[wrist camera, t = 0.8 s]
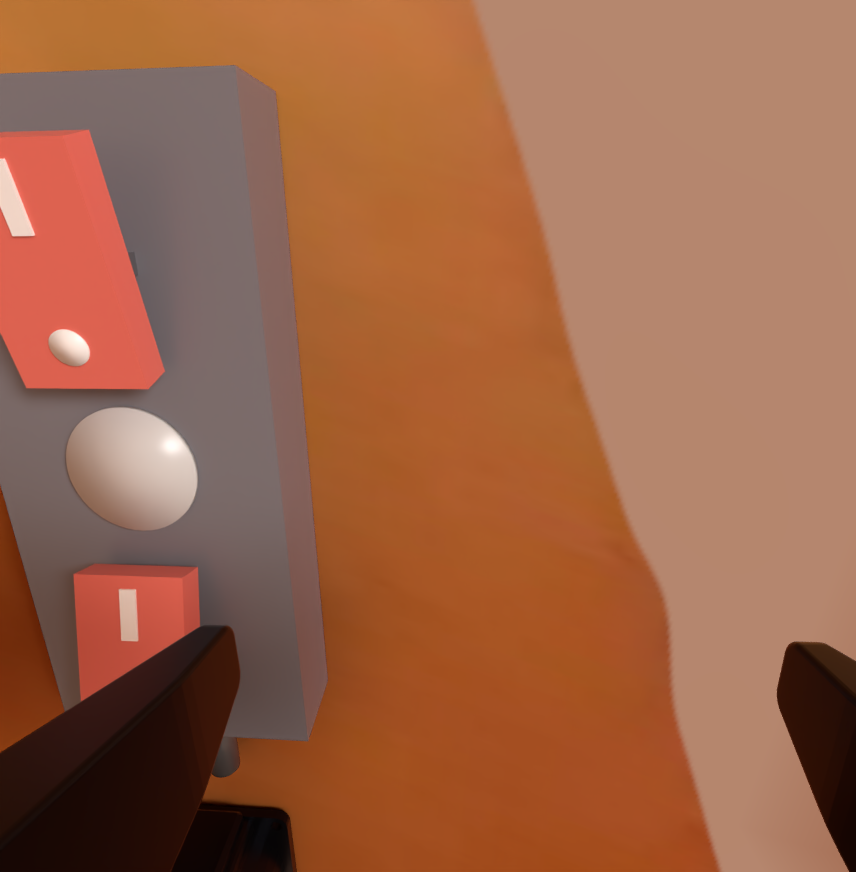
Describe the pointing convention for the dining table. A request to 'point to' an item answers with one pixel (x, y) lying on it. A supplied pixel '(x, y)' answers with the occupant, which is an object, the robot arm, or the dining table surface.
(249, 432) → the switch panel
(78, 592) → the switch
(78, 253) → the switch
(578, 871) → the dining table surface
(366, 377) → the dining table surface
